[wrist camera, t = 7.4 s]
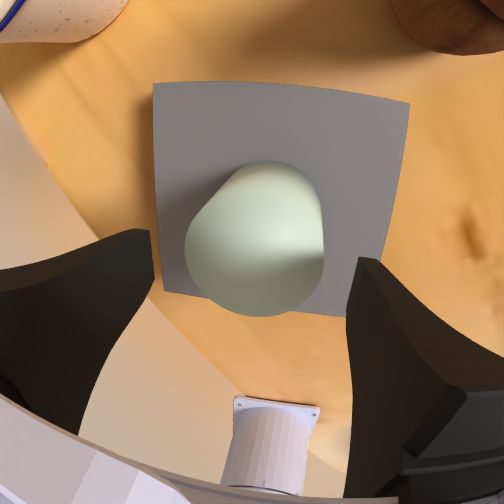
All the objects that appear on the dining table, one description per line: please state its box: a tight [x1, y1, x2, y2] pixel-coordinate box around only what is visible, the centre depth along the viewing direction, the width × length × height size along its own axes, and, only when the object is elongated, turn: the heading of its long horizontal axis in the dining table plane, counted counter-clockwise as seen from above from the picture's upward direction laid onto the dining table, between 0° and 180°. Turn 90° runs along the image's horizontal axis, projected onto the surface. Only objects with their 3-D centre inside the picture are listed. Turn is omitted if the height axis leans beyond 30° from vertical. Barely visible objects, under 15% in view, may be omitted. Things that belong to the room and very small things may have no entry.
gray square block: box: [153, 81, 410, 317], centre depth 17 cm, size 12×12×3 cm
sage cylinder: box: [184, 160, 324, 317], centre depth 14 cm, size 5×5×5 cm
